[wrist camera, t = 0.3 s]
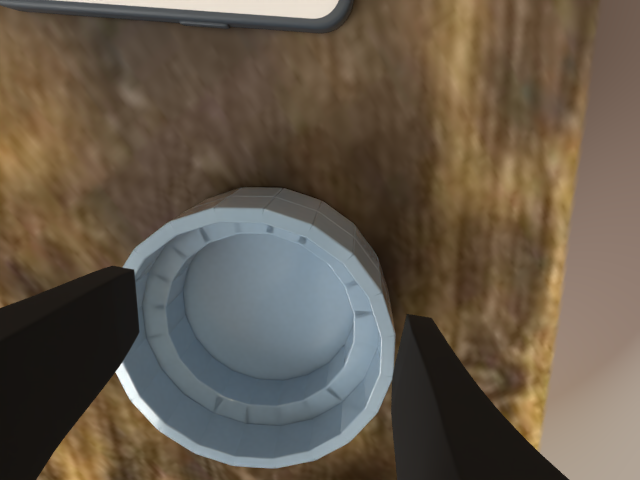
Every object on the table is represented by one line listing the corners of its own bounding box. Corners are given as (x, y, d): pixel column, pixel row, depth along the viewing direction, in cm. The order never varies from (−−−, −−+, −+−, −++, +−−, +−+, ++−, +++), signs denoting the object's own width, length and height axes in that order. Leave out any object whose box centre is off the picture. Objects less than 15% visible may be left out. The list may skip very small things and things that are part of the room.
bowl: (252, 433, 26) (228, 507, 21) (111, 271, 23) (48, 314, 19) (433, 329, 23) (452, 388, 18) (292, 133, 21) (271, 142, 16)
